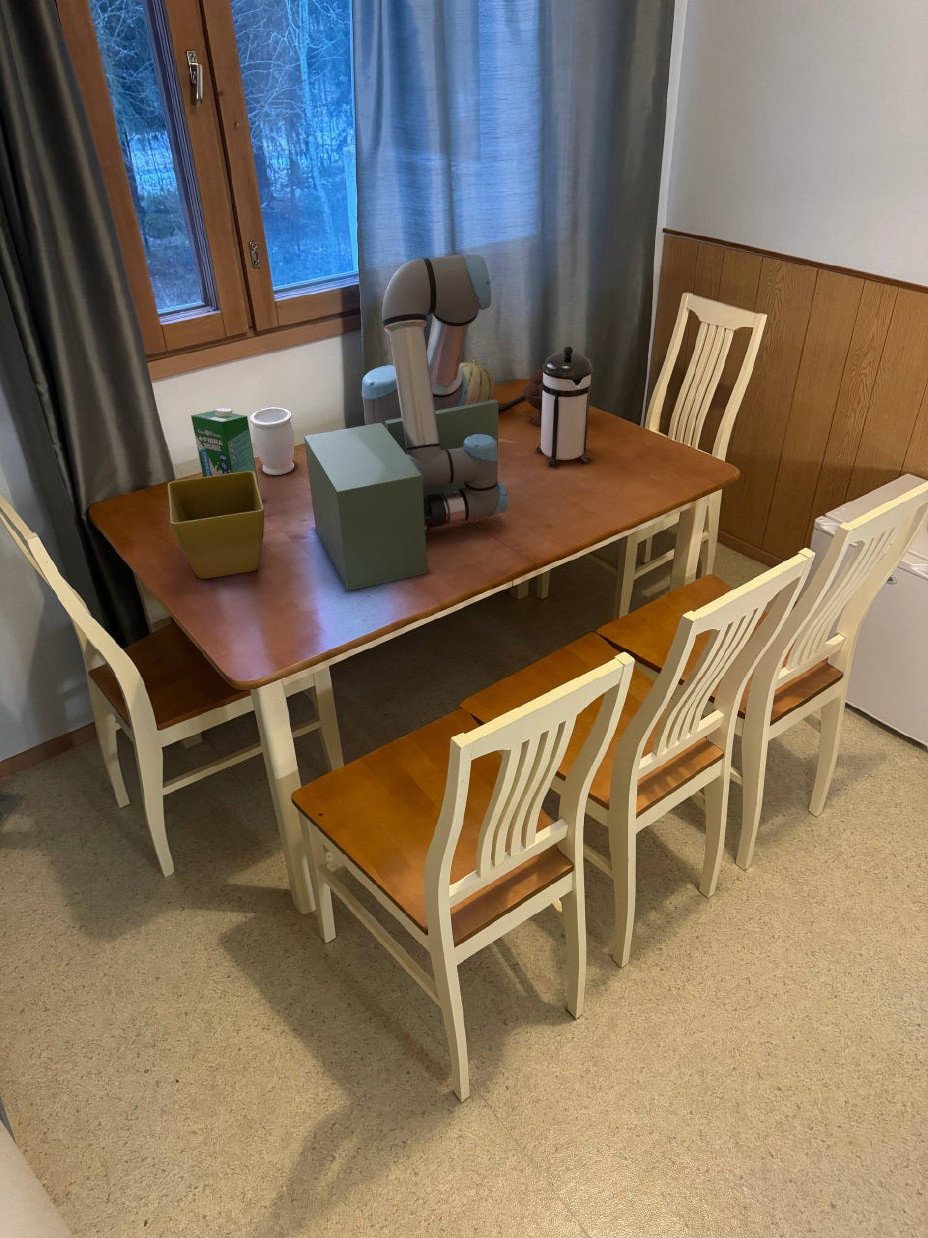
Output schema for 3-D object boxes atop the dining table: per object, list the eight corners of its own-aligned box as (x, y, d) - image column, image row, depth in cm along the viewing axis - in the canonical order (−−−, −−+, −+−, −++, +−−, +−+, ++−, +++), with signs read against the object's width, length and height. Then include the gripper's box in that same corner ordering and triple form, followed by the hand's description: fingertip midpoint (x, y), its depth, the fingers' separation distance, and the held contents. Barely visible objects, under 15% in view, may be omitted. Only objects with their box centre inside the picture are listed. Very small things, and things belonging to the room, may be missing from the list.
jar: (290, 479, 240) (282, 425, 231) (252, 475, 242) (243, 422, 233) (303, 460, 249) (296, 408, 240) (267, 457, 250) (259, 405, 242)
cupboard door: (382, 501, 230) (376, 411, 216) (484, 478, 239) (484, 390, 225) (393, 514, 224) (387, 423, 210) (497, 490, 233) (498, 401, 219)
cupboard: (388, 514, 225) (381, 422, 211) (426, 573, 204) (422, 475, 189) (315, 529, 220) (303, 435, 205) (347, 591, 198) (337, 491, 184)
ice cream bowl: (518, 426, 264) (519, 376, 255) (530, 411, 273) (532, 362, 264) (553, 432, 261) (555, 381, 252) (565, 416, 269) (567, 366, 260)
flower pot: (275, 576, 203) (264, 509, 194) (186, 591, 199) (170, 523, 189) (264, 533, 218) (254, 469, 208) (181, 547, 214) (167, 482, 204)
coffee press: (601, 450, 251) (610, 341, 234) (574, 473, 240) (581, 361, 223) (545, 436, 259) (549, 329, 241) (516, 458, 248) (519, 348, 230)
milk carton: (261, 500, 231) (246, 406, 216) (239, 517, 225) (222, 421, 210) (231, 494, 234) (214, 400, 220) (209, 510, 228) (190, 414, 213)
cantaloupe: (440, 420, 268) (438, 370, 260) (449, 400, 280) (448, 351, 271) (490, 423, 266) (491, 373, 257) (497, 402, 278) (498, 354, 269)
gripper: (457, 543, 208) (358, 564, 201) (428, 504, 222) (335, 523, 216) (456, 513, 203) (355, 535, 197) (427, 476, 218) (331, 494, 211)
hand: (345, 529), depth 206 cm, fingers open, 6 cm apart
